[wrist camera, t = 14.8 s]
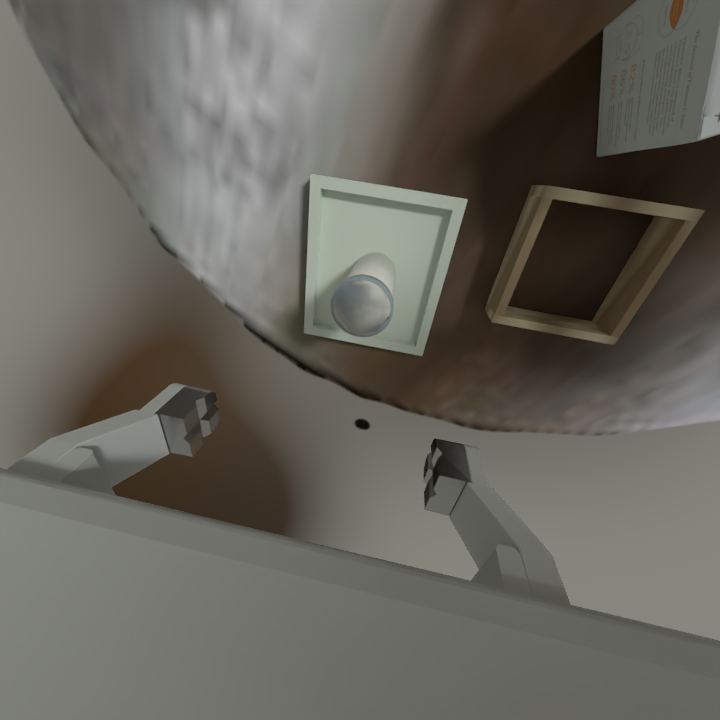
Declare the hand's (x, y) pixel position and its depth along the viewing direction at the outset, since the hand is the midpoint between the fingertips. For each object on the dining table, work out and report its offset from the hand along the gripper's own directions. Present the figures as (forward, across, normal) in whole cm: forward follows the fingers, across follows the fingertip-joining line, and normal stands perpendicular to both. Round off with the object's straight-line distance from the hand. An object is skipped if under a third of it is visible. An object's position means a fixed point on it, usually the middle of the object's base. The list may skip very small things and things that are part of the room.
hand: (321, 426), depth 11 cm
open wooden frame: (+24, -17, -3) cm, 30 cm away
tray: (+24, +1, +1) cm, 24 cm away
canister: (+23, +1, +1) cm, 23 cm away
